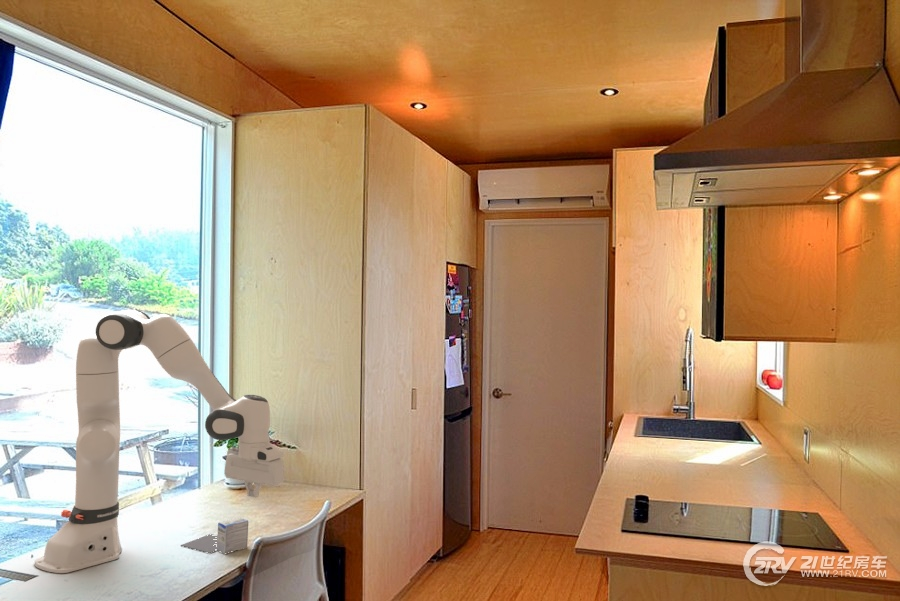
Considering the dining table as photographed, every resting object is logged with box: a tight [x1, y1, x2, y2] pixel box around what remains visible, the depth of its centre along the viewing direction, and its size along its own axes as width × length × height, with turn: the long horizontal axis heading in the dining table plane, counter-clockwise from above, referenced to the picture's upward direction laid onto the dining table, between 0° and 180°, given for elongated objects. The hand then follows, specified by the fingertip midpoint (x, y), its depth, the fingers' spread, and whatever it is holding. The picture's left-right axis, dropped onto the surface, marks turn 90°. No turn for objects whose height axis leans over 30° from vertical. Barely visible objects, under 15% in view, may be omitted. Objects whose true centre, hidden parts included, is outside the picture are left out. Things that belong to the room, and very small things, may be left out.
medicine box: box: [217, 516, 249, 555], centre depth 208 cm, size 8×4×9 cm, turn 141°
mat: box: [180, 533, 218, 554], centre depth 212 cm, size 12×12×1 cm
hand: (253, 496), depth 205 cm, fingers closed
